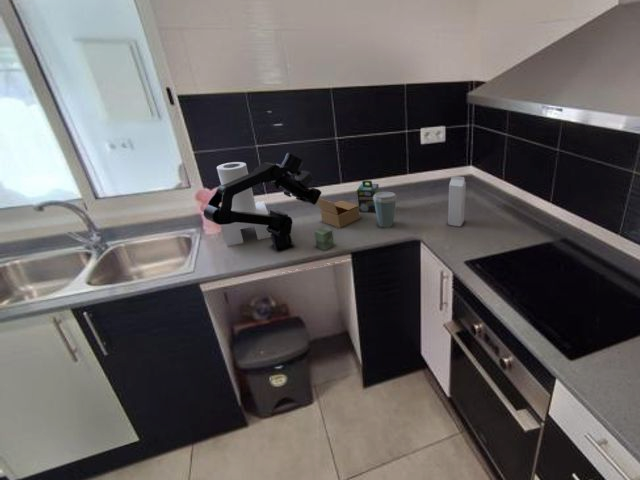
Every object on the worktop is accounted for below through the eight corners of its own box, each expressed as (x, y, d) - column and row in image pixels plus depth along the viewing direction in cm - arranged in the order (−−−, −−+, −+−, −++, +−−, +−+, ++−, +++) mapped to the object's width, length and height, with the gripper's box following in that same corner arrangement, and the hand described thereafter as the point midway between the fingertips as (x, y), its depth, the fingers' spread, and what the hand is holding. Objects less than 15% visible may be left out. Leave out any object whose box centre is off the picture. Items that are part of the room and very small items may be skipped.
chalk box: (380, 205, 194) (378, 177, 187) (376, 212, 186) (374, 183, 179) (362, 205, 195) (360, 177, 188) (358, 211, 187) (355, 182, 180)
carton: (339, 227, 171) (338, 214, 168) (322, 221, 177) (320, 208, 174) (359, 218, 180) (358, 205, 176) (342, 212, 186) (341, 200, 183)
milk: (460, 226, 171) (463, 179, 160) (447, 224, 172) (449, 178, 162) (464, 221, 176) (466, 175, 165) (451, 219, 177) (453, 173, 167)
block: (325, 250, 152) (322, 234, 149) (316, 246, 155) (314, 231, 152) (334, 245, 156) (332, 230, 152) (326, 242, 158) (324, 227, 155)
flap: (338, 214, 168) (337, 214, 167) (320, 208, 174) (320, 208, 174) (333, 202, 164) (333, 203, 163) (316, 197, 170) (315, 197, 170)
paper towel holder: (224, 229, 171) (205, 163, 156) (267, 220, 178) (253, 157, 164) (226, 246, 156) (206, 175, 142) (273, 236, 164) (259, 168, 149)
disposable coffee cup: (372, 221, 176) (370, 190, 169) (395, 218, 179) (394, 188, 172) (376, 230, 167) (374, 198, 160) (400, 228, 170) (399, 196, 163)
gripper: (314, 170, 146) (338, 189, 159) (284, 162, 156) (309, 181, 169) (300, 195, 144) (326, 213, 157) (271, 186, 154) (298, 203, 167)
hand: (315, 201), depth 163 cm, fingers closed
